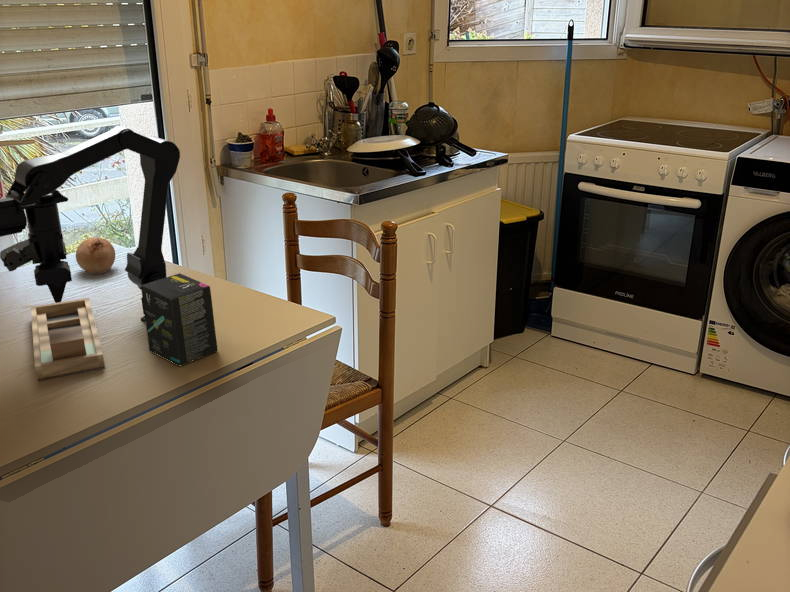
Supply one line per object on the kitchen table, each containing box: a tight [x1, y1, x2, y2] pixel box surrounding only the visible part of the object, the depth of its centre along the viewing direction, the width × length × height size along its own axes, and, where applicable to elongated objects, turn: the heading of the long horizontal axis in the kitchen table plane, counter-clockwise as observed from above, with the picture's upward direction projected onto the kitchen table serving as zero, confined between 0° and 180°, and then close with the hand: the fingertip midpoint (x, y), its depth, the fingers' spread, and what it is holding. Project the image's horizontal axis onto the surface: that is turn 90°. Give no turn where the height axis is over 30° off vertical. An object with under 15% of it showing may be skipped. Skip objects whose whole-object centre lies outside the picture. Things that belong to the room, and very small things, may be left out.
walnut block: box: [49, 326, 87, 361], centre depth 151 cm, size 6×6×4 cm
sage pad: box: [40, 343, 96, 363], centre depth 152 cm, size 8×10×1 cm
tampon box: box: [140, 273, 219, 366], centre depth 155 cm, size 11×9×15 cm
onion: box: [75, 236, 116, 274], centre depth 196 cm, size 10×9×10 cm
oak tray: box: [30, 297, 106, 381], centre depth 160 cm, size 30×12×3 cm, turn 25°
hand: (58, 301), depth 155 cm, fingers closed
